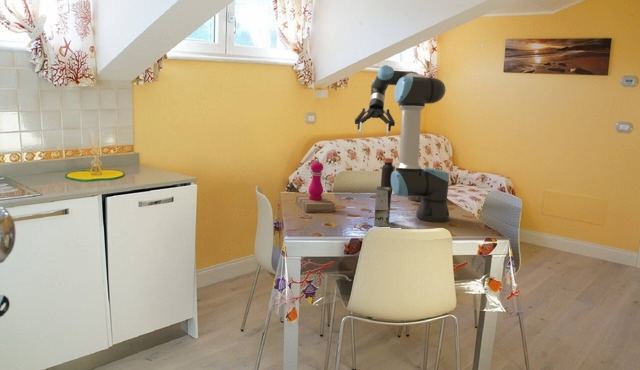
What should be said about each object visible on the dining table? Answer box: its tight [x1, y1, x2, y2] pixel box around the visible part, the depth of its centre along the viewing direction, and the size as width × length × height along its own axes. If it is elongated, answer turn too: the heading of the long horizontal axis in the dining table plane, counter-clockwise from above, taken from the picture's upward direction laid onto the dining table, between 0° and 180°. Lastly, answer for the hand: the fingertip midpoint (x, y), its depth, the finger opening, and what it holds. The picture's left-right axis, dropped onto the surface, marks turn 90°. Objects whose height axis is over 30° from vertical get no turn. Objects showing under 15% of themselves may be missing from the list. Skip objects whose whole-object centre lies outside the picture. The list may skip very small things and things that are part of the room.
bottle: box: [380, 157, 395, 194], centre depth 302 cm, size 7×7×20 cm
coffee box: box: [373, 186, 392, 228], centre depth 230 cm, size 9×6×16 cm
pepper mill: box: [307, 158, 324, 201], centre depth 255 cm, size 7×7×20 cm
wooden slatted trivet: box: [295, 194, 336, 213], centre depth 257 cm, size 20×14×4 cm
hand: (373, 134), depth 263 cm, fingers open, 13 cm apart
